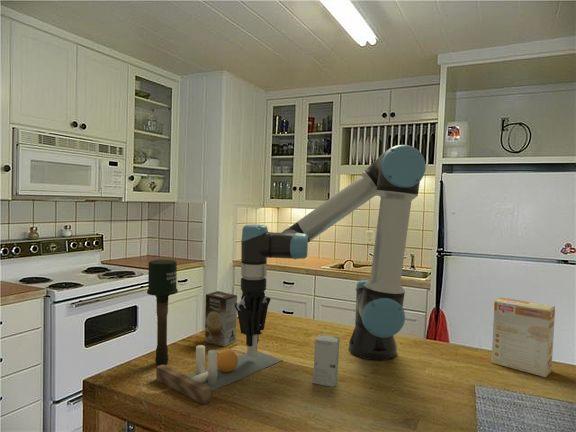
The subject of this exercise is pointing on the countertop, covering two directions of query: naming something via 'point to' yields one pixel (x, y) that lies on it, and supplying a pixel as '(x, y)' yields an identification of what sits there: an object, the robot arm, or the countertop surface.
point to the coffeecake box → (523, 336)
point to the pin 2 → (212, 367)
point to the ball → (227, 361)
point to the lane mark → (241, 369)
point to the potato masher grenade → (162, 300)
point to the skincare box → (326, 360)
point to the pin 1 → (200, 359)
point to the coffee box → (220, 318)
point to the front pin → (201, 377)
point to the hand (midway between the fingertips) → (252, 355)
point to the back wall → (184, 384)
